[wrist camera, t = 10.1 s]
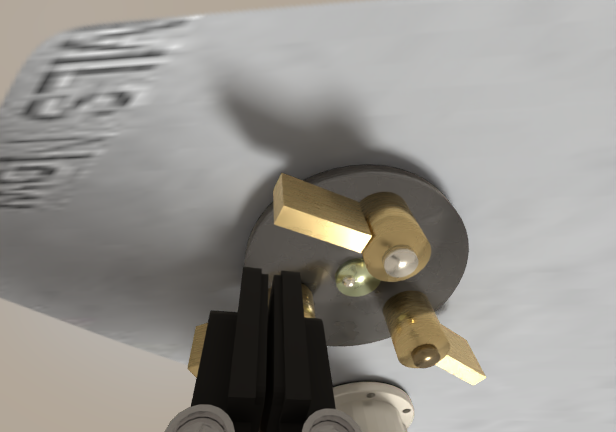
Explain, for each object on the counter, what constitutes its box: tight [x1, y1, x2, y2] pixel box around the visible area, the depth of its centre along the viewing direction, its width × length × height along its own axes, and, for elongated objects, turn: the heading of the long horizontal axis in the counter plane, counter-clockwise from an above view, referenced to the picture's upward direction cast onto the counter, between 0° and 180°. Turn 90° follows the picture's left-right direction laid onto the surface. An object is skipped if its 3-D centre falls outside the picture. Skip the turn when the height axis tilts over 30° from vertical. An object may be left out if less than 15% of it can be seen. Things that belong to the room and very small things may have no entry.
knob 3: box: [383, 291, 486, 385], centre depth 27 cm, size 9×4×5 cm, turn 49°
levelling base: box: [244, 165, 469, 346], centre depth 26 cm, size 16×16×2 cm
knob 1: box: [188, 284, 316, 378], centre depth 25 cm, size 9×4×5 cm, turn 109°
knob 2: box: [273, 173, 431, 282], centre depth 20 cm, size 9×4×5 cm, turn 64°
